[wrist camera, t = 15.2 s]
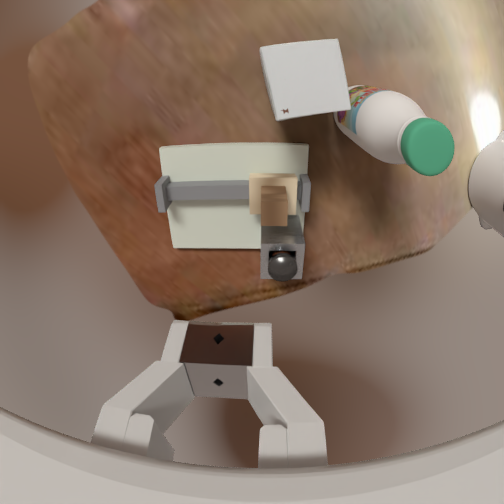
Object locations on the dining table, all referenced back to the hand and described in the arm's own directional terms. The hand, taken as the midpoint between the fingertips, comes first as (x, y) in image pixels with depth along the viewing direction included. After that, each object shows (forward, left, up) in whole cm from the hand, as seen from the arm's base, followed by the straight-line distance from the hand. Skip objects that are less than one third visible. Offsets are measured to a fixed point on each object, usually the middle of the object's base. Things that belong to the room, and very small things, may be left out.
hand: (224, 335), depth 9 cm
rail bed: (+3, +10, -34) cm, 36 cm away
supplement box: (-5, -7, -34) cm, 36 cm away
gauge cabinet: (-4, +15, -34) cm, 37 cm away
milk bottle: (-14, -3, -34) cm, 37 cm away
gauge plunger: (-4, +15, -31) cm, 35 cm away
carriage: (-2, +8, -33) cm, 34 cm away
